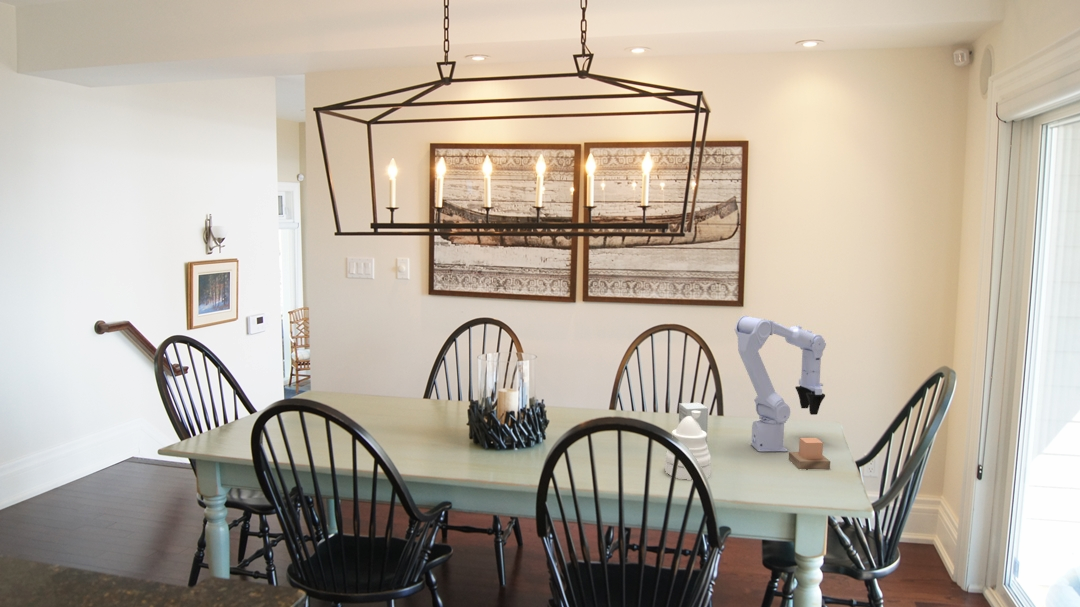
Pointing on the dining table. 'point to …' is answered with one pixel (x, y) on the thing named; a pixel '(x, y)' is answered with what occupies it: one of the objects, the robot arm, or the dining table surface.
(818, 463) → the walnut base block
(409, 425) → the dining table surface
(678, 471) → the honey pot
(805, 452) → the terracotta block
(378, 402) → the dining table surface
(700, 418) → the supplement box
